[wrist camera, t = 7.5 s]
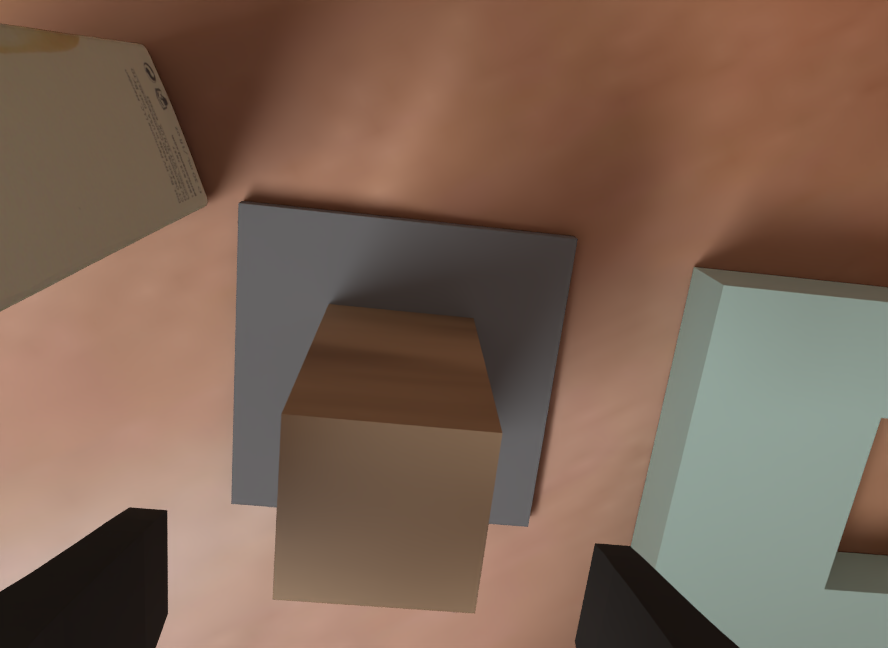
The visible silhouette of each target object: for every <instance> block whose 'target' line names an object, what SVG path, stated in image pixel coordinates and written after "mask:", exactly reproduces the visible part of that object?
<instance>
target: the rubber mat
mask: <svg viewBox="0 0 888 648" xmlns="http://www.w3.org/2000/svg"><path fill="white" fill-rule="evenodd" d="M577 240H578V239H577V238H576V237H575V236H566V235H557V234H548V233H538V232H529V231H520V230H510V229H501V228H491V227H482V226H473V225H463V224H454V223H445V222H435V221H426V220H416V219H407V218H398V217H388V216H379V215H370V214H360V213H351V212H341V211H332V210H323V209H313V208H304V207H295V206H285V205H276V204H266V203H257V202H248V201H241V202H240V203H239V208H238V250H237V292H236V334H235V375H234V417H233V459H232V501H231V504H241V505H254V506H267V507H277V495H278V474H279V452H280V431H281V414H282V411H283V409H284V407H285V404H286V402H287V400H288V397H289V395H290V393H291V390H292V388H293V386H294V383H295V381H296V379H297V376H298V374H299V372H300V369H301V367H302V365H303V362H304V360H305V358H306V355H307V353H308V351H309V348H310V346H311V344H312V341H313V339H314V337H315V335H316V332H317V330H318V328H319V325H320V323H321V321H322V318H323V316H324V314H325V311H326V309H327V307H328V304H334V305H344V306H354V307H365V308H375V309H385V310H395V311H406V312H416V313H426V314H436V315H447V316H457V317H467V318H474V322H475V326H476V330H477V334H478V338H479V342H480V346H481V350H482V354H483V358H484V362H485V366H486V370H487V374H488V378H489V382H490V385H491V389H492V393H493V397H494V401H495V405H496V409H497V413H498V417H499V421H500V425H501V429H502V440H501V446H500V453H499V459H498V466H497V472H496V479H495V486H494V492H493V499H492V505H491V512H490V518H489V524H499V525H512V526H525V527H528V523H529V518H530V512H531V506H532V500H533V495H534V489H535V483H536V477H537V471H538V466H539V460H540V454H541V448H542V442H543V437H544V431H545V425H546V419H547V414H548V408H549V402H550V396H551V390H552V385H553V379H554V373H555V367H556V361H557V356H558V350H559V344H560V338H561V332H562V327H563V321H564V315H565V309H566V304H567V298H568V292H569V286H570V280H571V275H572V269H573V263H574V257H575V251H576V246H577Z"/></svg>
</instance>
